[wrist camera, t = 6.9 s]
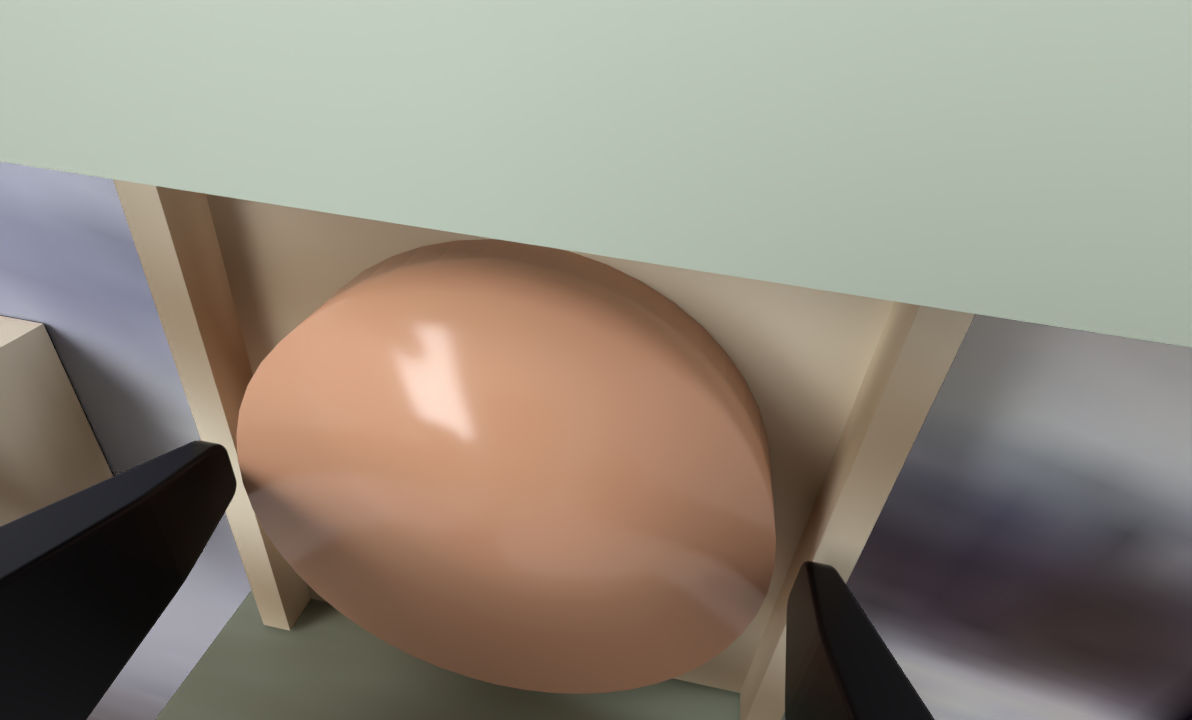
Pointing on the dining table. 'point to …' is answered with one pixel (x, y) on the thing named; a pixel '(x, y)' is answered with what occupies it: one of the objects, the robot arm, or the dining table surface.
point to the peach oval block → (516, 468)
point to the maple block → (40, 425)
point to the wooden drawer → (717, 302)
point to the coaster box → (668, 133)
